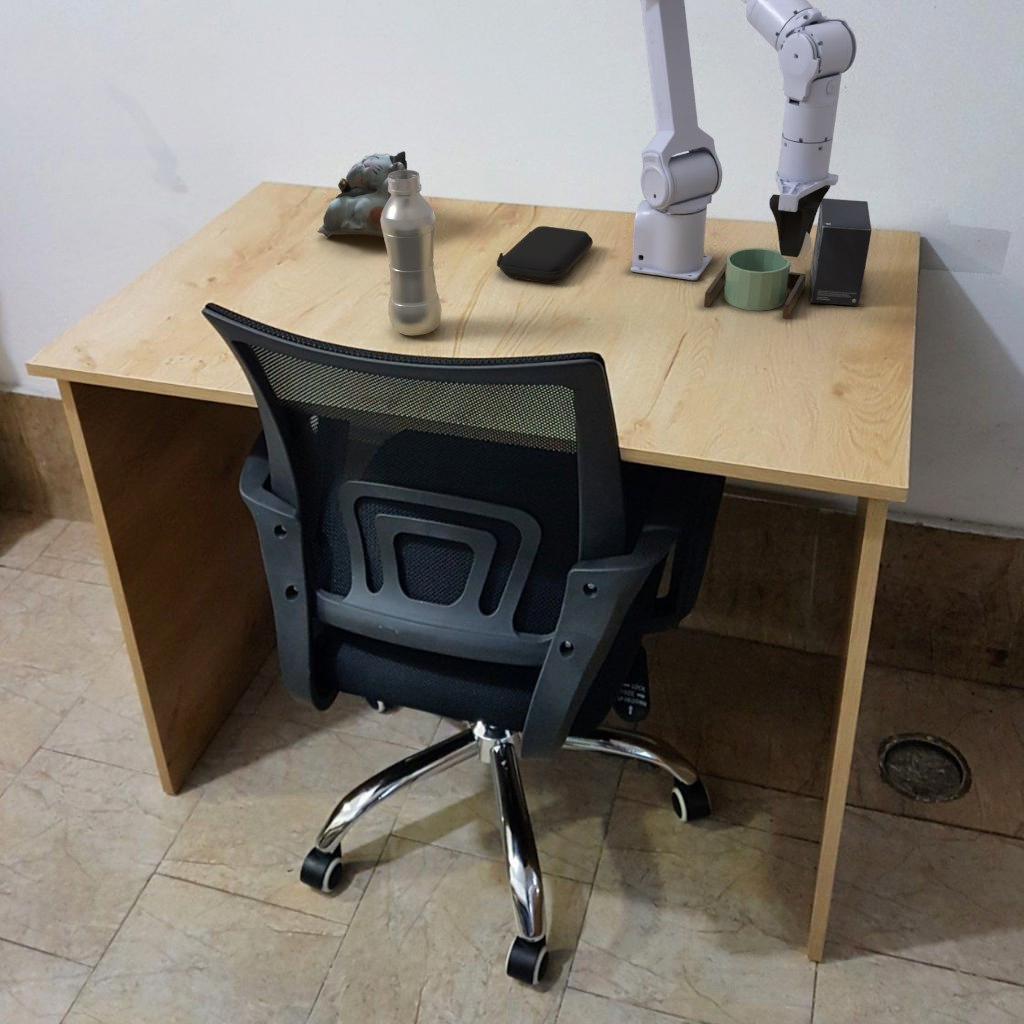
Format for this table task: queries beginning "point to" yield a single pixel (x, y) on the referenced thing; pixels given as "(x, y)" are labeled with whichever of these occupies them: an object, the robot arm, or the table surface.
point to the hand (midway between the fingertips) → (793, 248)
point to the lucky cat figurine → (362, 196)
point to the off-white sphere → (804, 250)
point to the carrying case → (545, 254)
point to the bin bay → (798, 285)
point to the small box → (840, 252)
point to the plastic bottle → (410, 256)
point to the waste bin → (756, 279)
